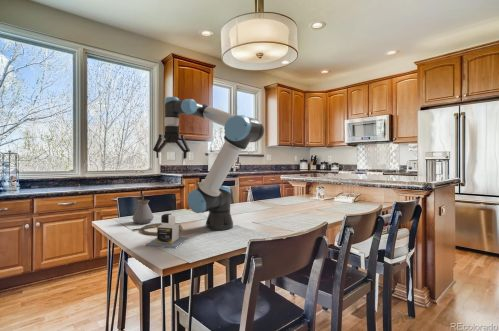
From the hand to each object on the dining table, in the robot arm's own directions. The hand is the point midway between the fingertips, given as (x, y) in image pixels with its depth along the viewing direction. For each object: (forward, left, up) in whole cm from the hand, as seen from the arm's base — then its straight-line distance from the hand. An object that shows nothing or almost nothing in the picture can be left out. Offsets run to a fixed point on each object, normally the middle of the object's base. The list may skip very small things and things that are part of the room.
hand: (171, 164), depth 155 cm
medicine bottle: (-11, +28, -34) cm, 45 cm away
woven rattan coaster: (+1, +9, -34) cm, 35 cm away
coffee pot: (+21, -8, -34) cm, 41 cm away
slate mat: (-11, +28, -34) cm, 46 cm away
